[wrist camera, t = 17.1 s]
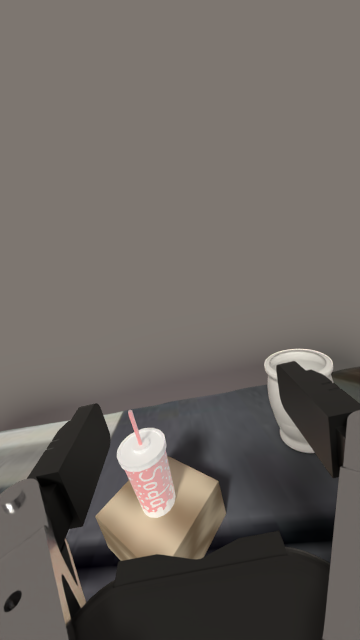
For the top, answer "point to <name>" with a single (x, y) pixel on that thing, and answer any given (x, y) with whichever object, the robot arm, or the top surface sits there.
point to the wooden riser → (165, 518)
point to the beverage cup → (148, 469)
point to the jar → (287, 427)
